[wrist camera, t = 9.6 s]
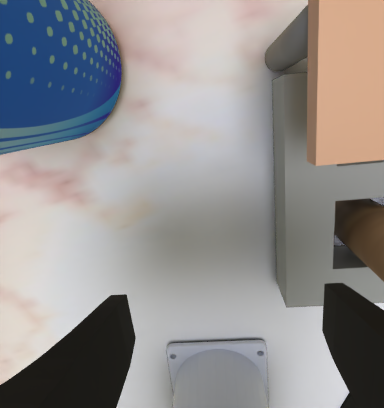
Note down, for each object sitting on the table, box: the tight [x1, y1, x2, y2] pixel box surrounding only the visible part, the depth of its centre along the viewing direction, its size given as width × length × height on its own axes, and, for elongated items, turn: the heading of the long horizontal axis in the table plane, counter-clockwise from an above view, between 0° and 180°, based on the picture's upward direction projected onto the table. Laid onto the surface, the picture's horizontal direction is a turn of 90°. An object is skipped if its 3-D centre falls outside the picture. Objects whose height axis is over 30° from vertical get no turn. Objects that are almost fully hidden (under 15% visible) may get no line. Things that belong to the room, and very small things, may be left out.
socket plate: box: [272, 72, 384, 307], centre depth 18 cm, size 14×10×3 cm
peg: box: [334, 198, 384, 282], centre depth 17 cm, size 3×3×7 cm
